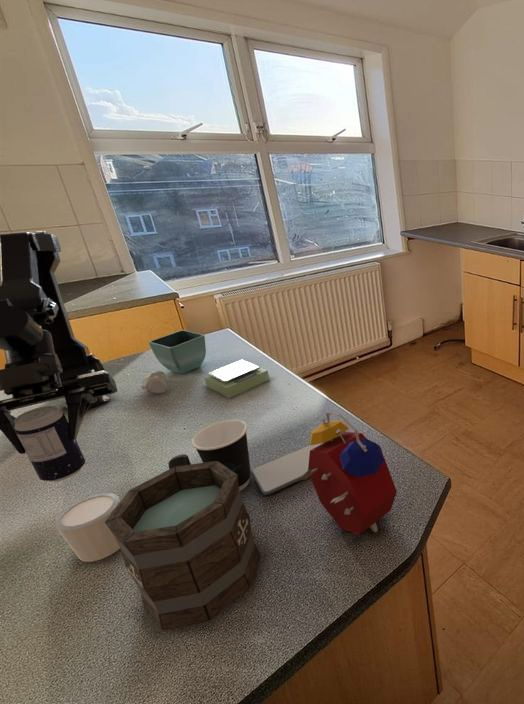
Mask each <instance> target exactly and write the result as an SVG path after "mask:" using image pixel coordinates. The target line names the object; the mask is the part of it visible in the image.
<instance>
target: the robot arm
mask: <svg viewBox="0 0 524 704" xmlns="http://www.w3.org/2000/svg"><path fill="white" fill-rule="evenodd" d="M61 252H62V249H61V244H60V241H59V240H58V237H57V236H56V235H54V234H52V233H48V232H47V231H46V230H40V231H19V232H18V231H17V232H6V233H5V232H3V233H0V350H2V351H3V352H4V358H5V359H4V360H5V363H4V368H1V369H0V392H2V391H3V393H4V395H6V396H10V395H11V397H10V398H6V399H2V400H0V432H1V433H2V434H3V435H4V436H5V438H6V439H7V440H8V442H10V444H11V445H12V446H13V447H14V449H15V450H16V452H18V454H20V455H25V454H26V451H25V450H24V448H23V446H22V444H21V442H20V440H19V438H18V436H17V434H16V432H15V430H14V427H15V424H16V423H15V422H14V421H15V419H16V418H17V417H15V416H14V415H12V411H14V410H19V409H22V408H26V407H31V406H35V405H39V404H43V403H47V402H52V401H55V400H60V399H65V402H64V403H63V404H62V406H63V407H64V408H65V409H66V410H67V421H68V425H69V433H70V436H71V439H72V440H74V439H76V440H77V437H78V435H79V432H80V428H81V425H82V422H83V420H84V418H85V416H86V414H87V411H88V410H89V409H92V408H95V407H97V406H99V405H102V404H105V403H107V402H109V401H110V402H111V398H110V397H109V396H108V395H113V394H115V393H117V392H118V387H117V384H116V379H115V378H114V377H113V376H112V375H111V374H110V372H109V371H106V368H105V367H104V365H103V363H102V362H101V360H100V358H98V357H97V356H96V355H95V354H94V353H91V352H90V349H89V347H88V346H87V345H86V344H84V343H82V342H81V341H80V340H78V339H77V338H76V337H75V335H74V331H73V328H72V325H71V322H70V319H69V316H68V313H67V310H66V306H65V302H64V300H63V297H62V293H61V291H60V287H59V285H58V281H57V278H56V276H55V272H56V271H57V269H58V266H59V265H60V263H61V258H60V254H59V253H61Z"/></svg>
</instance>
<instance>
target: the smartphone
mask: <svg viewBox="0 0 524 704" xmlns="http://www.w3.org/2000/svg"><path fill="white" fill-rule="evenodd" d="M321 444H323V443H321ZM321 444H316V445H310V444H308V445H305V446H302V447H301V448H298V449H295V450H293V451H291V452H289V453H286V454H283V455H281V456H278V457H277V458H274V459H272V460H270V461H267V462H265V463H262V464H260V465H258V466H255V467H253V468H252V469H250V471H251V476H252V477H253V479H254V481H255V482H256V484H257V486H258V488H259V490H260V491H261V493H262V495H264V496H269V495H271V494H272V495H273V494H274V493H275V492H278V491H280V490H283V489H284V488H287V487H289V486H291V485H293V484H295V483H298V482H300V481H303V480H302V479H303V478H304V477H305V476H303V475H304V474H305V473H306V472H307V471H308V465H309V454H310V450H312V449H314V448H315V447H317V446H319V445H321Z"/></svg>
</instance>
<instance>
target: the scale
mask: <svg viewBox="0 0 524 704" xmlns="http://www.w3.org/2000/svg"><path fill="white" fill-rule="evenodd" d="M259 367H260V369H258V370H256V371H254V372H251V373H249V374H247V375H244V376H242V377H240V378H237V379H235V380H233V381H230V382H228V383H224V382H222V381H220V380H218V379H216V378H214V377H211V376H209V375H205V376H203V378H204V381H205V385H206V387H207V388H209V389H211V390H212V391H214V392H217V393H219V394H220V395H223V396H224V397H227V398H229V399H230V398H233V397H235V396H237V395H239V394H242V393H244V392H246V391H248V390H251V389H253V388H254V387H257V386H259V385H261V384H264V383H266V382H268V381H270V375H269V372H268V370H267V369H265V368H263V367H261V366H259Z"/></svg>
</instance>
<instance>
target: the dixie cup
mask: <svg viewBox="0 0 524 704" xmlns="http://www.w3.org/2000/svg"><path fill="white" fill-rule="evenodd" d="M247 431H248V425H247V423H245V421H242V420H239V419H227V420H222V421H217V422H214V423H212V424H210V425H207V426H205V427H204V428H202V429H200V430H198V431H197V432H196V433H195V434H194V435H193V437H192V438H191V446H192V447H193V448H194V449H195V450H196V452H197V454H198V455H199V458H200V460H201V461H202V463H205V462H213V461H218V462H220V463H221V464H223V465H224V466H226V467H227V468H228V469H230V470H231V471H233V472H234V473H236V474H237V475H238V482H239V491H240V492H241V491H242V490H244V489H246V488H247V486H249V484H250V483H251V482H250V481H251V476H252V474H251V463H250V453H249V445H248V436H247Z"/></svg>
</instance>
